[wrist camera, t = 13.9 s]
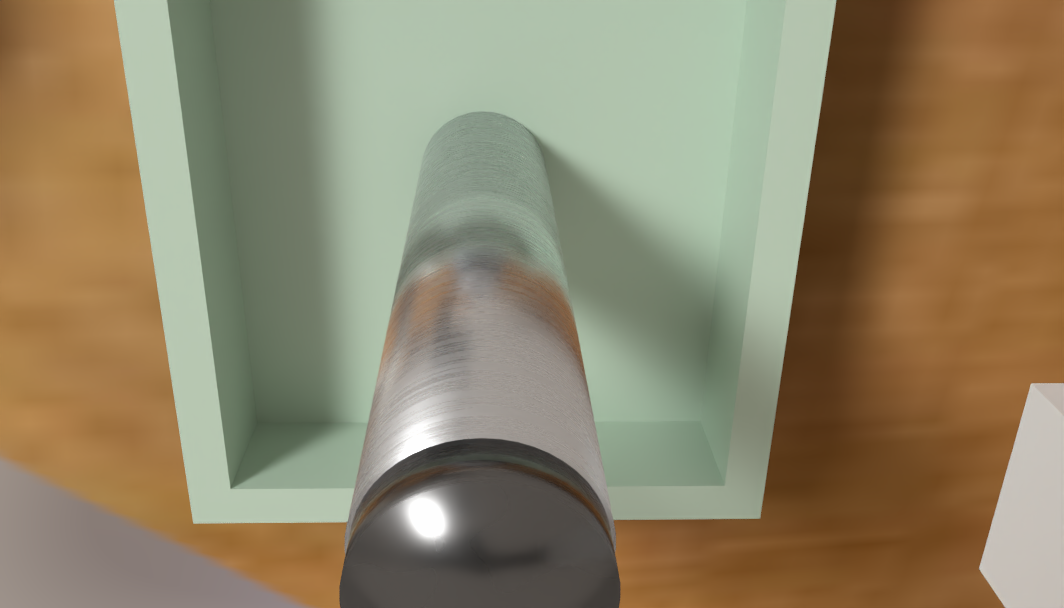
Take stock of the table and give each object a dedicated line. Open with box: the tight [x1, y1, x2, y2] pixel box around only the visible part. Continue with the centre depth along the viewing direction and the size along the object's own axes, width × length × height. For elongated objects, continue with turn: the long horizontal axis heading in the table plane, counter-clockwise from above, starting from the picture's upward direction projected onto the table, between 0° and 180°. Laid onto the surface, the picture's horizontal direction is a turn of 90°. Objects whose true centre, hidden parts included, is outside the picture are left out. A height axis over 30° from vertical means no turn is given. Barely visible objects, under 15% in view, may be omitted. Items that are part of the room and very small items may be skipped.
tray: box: [114, 0, 836, 523], centre depth 23 cm, size 16×14×4 cm
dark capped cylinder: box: [340, 111, 620, 608], centre depth 17 cm, size 3×3×15 cm
